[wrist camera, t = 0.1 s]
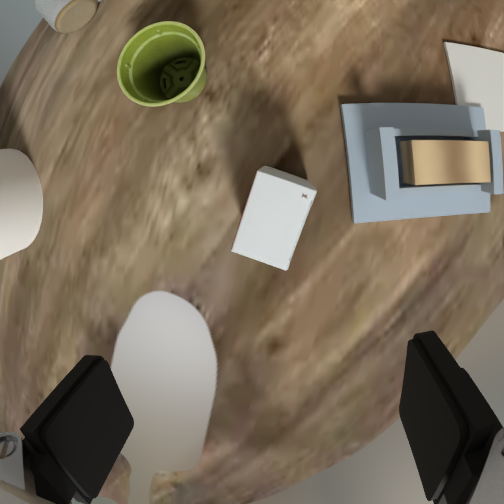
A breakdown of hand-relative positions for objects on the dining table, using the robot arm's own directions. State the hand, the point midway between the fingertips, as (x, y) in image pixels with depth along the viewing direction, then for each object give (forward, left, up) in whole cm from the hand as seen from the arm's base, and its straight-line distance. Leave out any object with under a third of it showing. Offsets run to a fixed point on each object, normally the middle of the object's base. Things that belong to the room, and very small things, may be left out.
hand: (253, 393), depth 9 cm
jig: (-5, +19, -31) cm, 37 cm away
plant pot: (-18, -9, -31) cm, 37 cm away
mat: (-15, +33, -31) cm, 48 cm away
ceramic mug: (-36, -23, -31) cm, 53 cm away
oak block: (-5, +19, -27) cm, 34 cm away
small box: (-1, 0, -31) cm, 31 cm away
